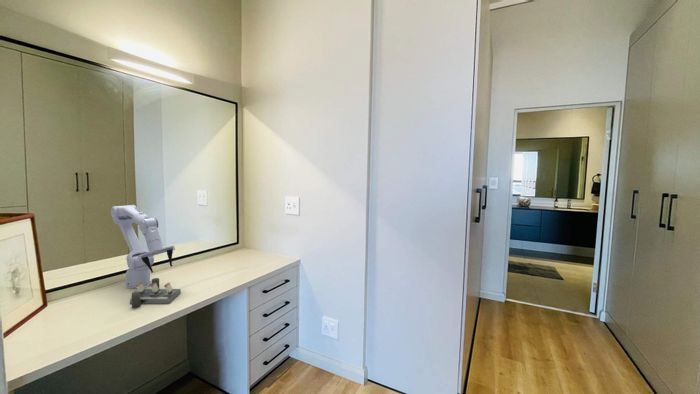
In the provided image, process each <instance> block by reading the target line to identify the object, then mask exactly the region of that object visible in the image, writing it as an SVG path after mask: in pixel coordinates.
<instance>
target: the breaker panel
mask: <svg viewBox="0 0 700 394" xmlns="http://www.w3.org/2000/svg"><path fill="white" fill-rule="evenodd" d="M172 289H173V291H172V292H171V293H170V294H168V293H167V291H166V289H165V288H159V291H158V292H157V293H156V294H154V293H153V291H152V289H151V288H145V291H144V292H143V293H141V294H140V304H141V305H169V304H170V303H171V302H173V300H175V299H176V298H177V297H178V296H179V295H181V292H182V291H181V288H172ZM129 304H130V305H132V297H131V298H130V299H129Z"/></svg>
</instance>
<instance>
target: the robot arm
mask: <svg viewBox="0 0 700 394" xmlns="http://www.w3.org/2000/svg"><path fill="white" fill-rule="evenodd" d="M110 216H111V219H112V221H113V222H114V224H115V225H117V226H118V227H119V229H120V231H121V233H122V235H123V238H124V240H125V242H126V244H127V247H128V249H129V251H130V252H129V253H128V254H127V255H126V259H125V260H126V263H127V267H128V269H127V270H126V272H125V286H124V289H137V287H136V285H137V284H139V283H141V282H142V284H143V286H144V288H145V289H147V287H150V285H151V284H152V280H151V276H150V275H151V273H154V271H153V268H152V266H153V264H154V263H155V256H158V255H161V254H164V253H166V254H167V255H166V256H167V258H168V261H169V265H170V267H173V262H172V260H173V259H172V258H173V254H174V253H173V252H174V251H175V250H176V247H175V245H174V244H173V245H169V246H165V247H164V246H163V242H162V239H161V236H160V232H159V229H158V228H159V221H158V218H157V217H154V216H153V217H150V216H148V214H146V213H144V212H143V211H138V207H137V206H136V205H135V204H129V205H117V206H116V205H113V206H112V207H111V208H110ZM134 223H135V225H138V229H139V230H140V232H141V233H142V235H143V236H144V239H145V242H146V246H147V247H146V248H144V247H143V246H142V244H141V242H140V239H139V238H138V236H137V234H136V231H135V228H134V227H133V224H134Z"/></svg>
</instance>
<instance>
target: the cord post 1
mask: <svg viewBox="0 0 700 394" xmlns="http://www.w3.org/2000/svg"><path fill="white" fill-rule="evenodd" d="M131 298H132V304H131V308H132V309H136V308H139V307H141V305H142V304H140V292H139V291H138V290H137V291H133V292H132V293H131Z"/></svg>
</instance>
